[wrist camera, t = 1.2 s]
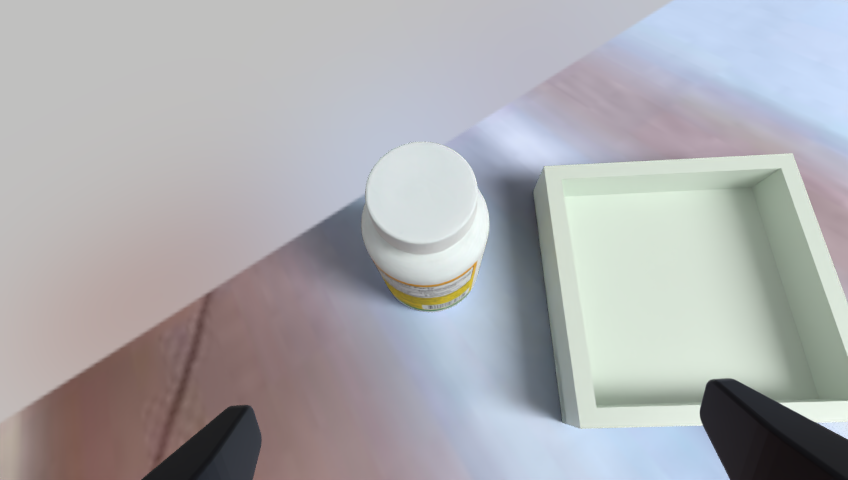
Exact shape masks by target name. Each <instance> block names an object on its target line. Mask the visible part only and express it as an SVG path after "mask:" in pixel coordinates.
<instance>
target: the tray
mask: <svg viewBox="0 0 848 480" xmlns="http://www.w3.org/2000/svg"><path fill="white" fill-rule="evenodd" d="M533 195H534V203H535V211H536V219H537V227H538V234H539V242H540V250H541V258H542V266H543V274H544V282H545V289H546V297H547V305H548V313H549V321H550V329H551V337H552V345H553V352H554V360H555V368H556V376H557V384H558V392H559V400H560V407H561V415H562V423H565V424H568V425H571V426H574V427H577V428H580V429H583V428H623V427H663V426H703V424H702V422H701V419H700V407H701V403H702V399H703V395H704V391H705V387H706V384H707V382H708V381H709V380H711V379H722V378H731V379H735V380H737V381H739V382H741V383H743V384H745V385H746V386H748V387H750V388H752V389H754V390H756V391H758V392H760V393H761V394H763V395H765V396H767V397H769V398H771V399H773V400H775V401H776V402H778V403H780V404H782V405H784V406H786V407H788V408H790V409H791V410H793V411H795V412H797V413H799V414H801V415H803V416H805V417H806V418H808V419H810V420H812V421H814V422H816V423H822V422H848V303H847V300H846V297H845V295H844V292H843V289H842V287H841V284H840V281H839V278H838V276H837V273H836V270H835V268H834V265H833V262H832V259H831V257H830V254H829V251H828V249H827V246H826V243H825V240H824V238H823V235H822V232H821V230H820V227H819V224H818V221H817V219H816V216H815V213H814V211H813V208H812V205H811V202H810V200H809V197H808V194H807V191H806V189H805V186H804V183H803V181H802V178H801V175H800V172H799V170H798V167H797V164H796V162H795V159H794V156H793V153H792V154H772V155H753V156H733V157H714V158H695V159H675V160H656V161H636V162H617V163H598V164H578V165H559V166H544V167H543V170H542V172H541V174H540V177H539V179H538V181H537V183H536V186H535V188H534V190H533Z"/></svg>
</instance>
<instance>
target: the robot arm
mask: <svg viewBox="0 0 848 480" xmlns="http://www.w3.org/2000/svg"><path fill="white" fill-rule="evenodd" d="M700 419H701V422H702V424H703V427H704V429H705V431H706V433H707V435H708V437H709V439H710V441H711V443H712V445H713V447H714V449H715V451H716V453H717V455H718V456H719V458H720V460H721V462H722V464H723V466H724V468H725V470H726V472H727V474H728V476H729V478H730V480H848V439H846V438H844V437H842V436H840V435H838V434H836V433H834V432H833V431H831V430H829V429H827V428H825V427H823V426H821V425H819V424H818V423H816V422H814V421H812V420H810V419H808V418H806V417H805V416H803V415H801V414H799V413H797V412H795V411H793V410H791V409H790V408H788V407H786V406H784V405H782V404H780V403H778V402H776V401H775V400H773V399H771V398H769V397H767V396H765V395H763V394H761V393H760V392H758V391H756V390H754V389H752V388H750V387H748V386H746V385H745V384H743V383H741V382H739V381H737V380H735V379H731V378H722V379H711V380H709V381H708V382H707V384H706V387H705V391H704V395H703V399H702V403H701V407H700ZM260 448H261V432H260V429H259V426H258V423H257V420H256V416H255V413H254V410H253V408H252V407H251V406H249V405H237V406H230V407H228V408H227V409H225V410H224V411H223V412H222V413H220V414H219V415H218V416H217V417H216V418H214V419H213V420H212V421H211V422H210V423H209V424H207V425H206V426H205V427H204V428H203V429H201V430H200V431H199V432H198V433H197V434H195V435H194V436H193V437H192V438H191V439H189V440H188V441H187V442H186V443H185V444H183V445H182V446H181V447H180V448H179V449H177V450H176V451H175V452H174V453H173V454H171V455H170V456H169V457H168V458H167V459H165V460H164V461H163V462H162V463H161V464H159V465H158V466H157V467H156V468H155V469H153V470H152V471H151V472H150V473H149V474H147V475H146V476H145V477H144V478H143V479H141V480H253V476H254V472H255V468H256V464H257V460H258V456H259V452H260Z"/></svg>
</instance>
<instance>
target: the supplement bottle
mask: <svg viewBox="0 0 848 480" xmlns="http://www.w3.org/2000/svg"><path fill="white" fill-rule="evenodd" d="M365 200H366V202H365V205H364V208H363V212H362V220H361V229H362V236H363V241H364V244H365V246H366V249H367V251H368V253H369V255H370V257H371V258H372V260H373V262H374V263H375V265H376V267H377V269H378V271H379V272H380V274H381V276H382V278H383V279H384V281H385V283H386V285H387V286H388V288H389V290H390V291H391V293H392V294H393V295H394V297H395V298H396V299H397V300H399V301H400V302H401V303H403V304H404V305H406V306H407V307H409V308H412V309H415V310H418V311H423V312H438V311H443V310H446V309H449V308H451V307H453V306H455V305H457V304H458V303H460V302H461V301H462V300H463V299H464V298H465V297H466V296H467V295H468V294H469V293H470V291H471V290H472V288H473V286H474V284H475V282H476V279H477V276H478V272H479V268H480V264H481V260H482V257H483V253H484V249H485V246H486V243H487V238H488V233H489V214H488V209H487V205H486V202H485V200H484V197H483V196H482V194H481V192H480V191H479V189H478V188H477V181H476V178H475V175H474V173H473V171H472V169H471V167H470V165H469V164H468V163H467V161H466V160H465V159H464V158H463V157H462V156H461V155H459V154H458V153H457V152H456V151H454V150H452V149H450V148H448V147H446V146H443V145H441V144H437V143H432V142H412V143H408V144H404V145H401V146H399V147H397V148H394V149H392V150H391V151H389V152H388V153H386V154H385V155H384V156H383V157H382V158H381V159H380V160H379V161H378V162H377V163H376V164H375V166H374V167H373V169H372V170H371V172H370V174H369V177H368V180H367V183H366V190H365Z"/></svg>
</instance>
